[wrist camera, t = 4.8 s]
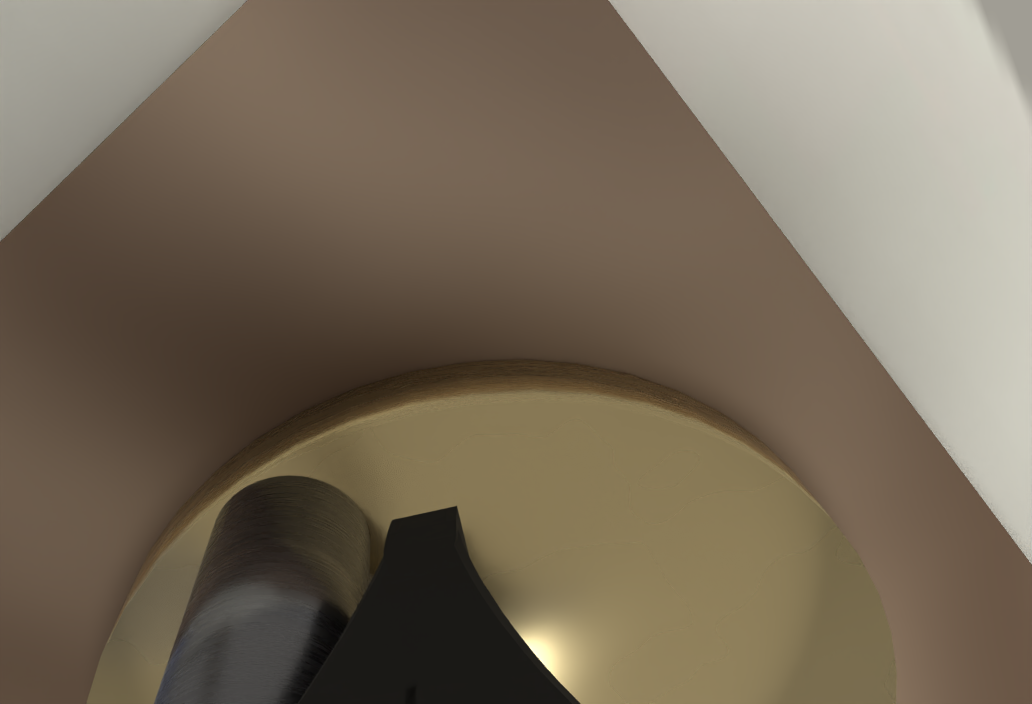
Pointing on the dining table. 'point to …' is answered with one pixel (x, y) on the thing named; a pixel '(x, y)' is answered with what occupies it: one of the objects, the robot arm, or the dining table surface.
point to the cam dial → (513, 547)
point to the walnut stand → (436, 306)
